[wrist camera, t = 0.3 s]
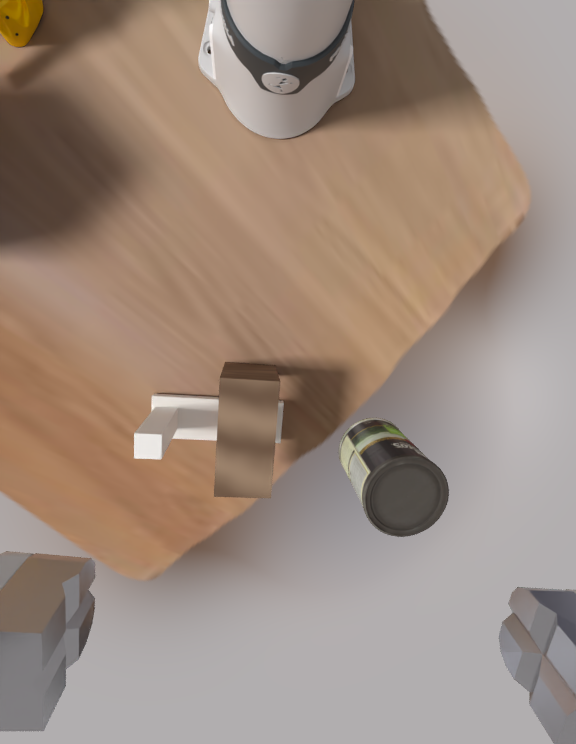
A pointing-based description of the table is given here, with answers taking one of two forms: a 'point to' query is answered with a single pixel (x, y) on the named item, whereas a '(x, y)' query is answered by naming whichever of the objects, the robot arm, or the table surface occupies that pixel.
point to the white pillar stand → (181, 423)
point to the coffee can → (392, 478)
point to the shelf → (246, 430)
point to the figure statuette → (19, 20)
